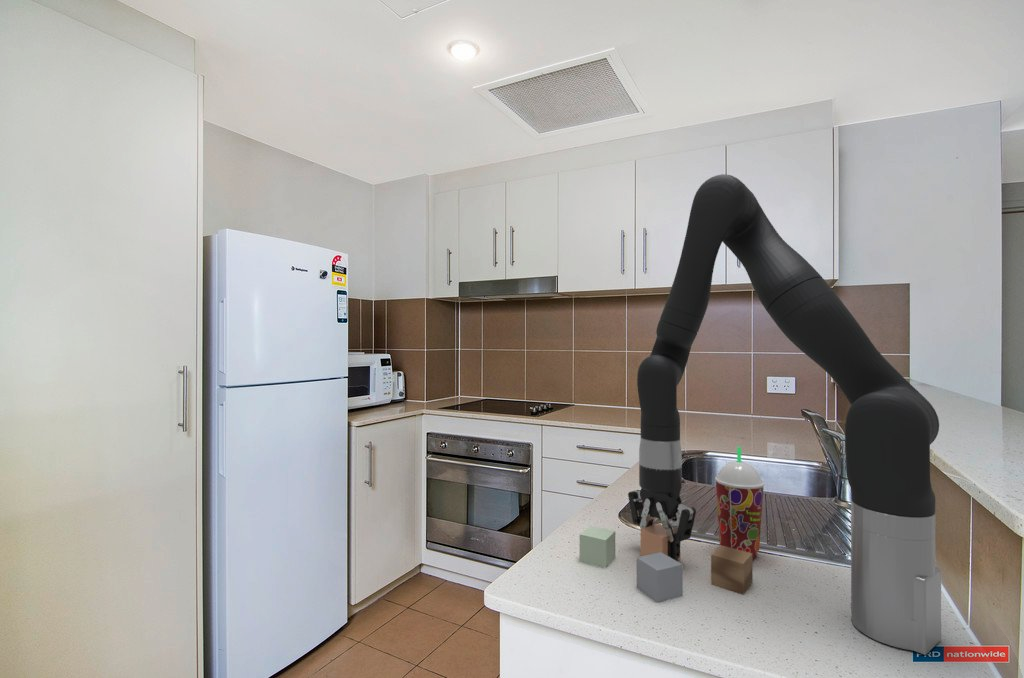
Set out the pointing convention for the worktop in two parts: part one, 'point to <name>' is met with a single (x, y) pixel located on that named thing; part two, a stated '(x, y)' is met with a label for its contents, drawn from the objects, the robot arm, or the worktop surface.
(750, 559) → the walnut block
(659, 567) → the grey block
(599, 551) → the sage block
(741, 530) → the smoothie
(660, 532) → the terracotta block
